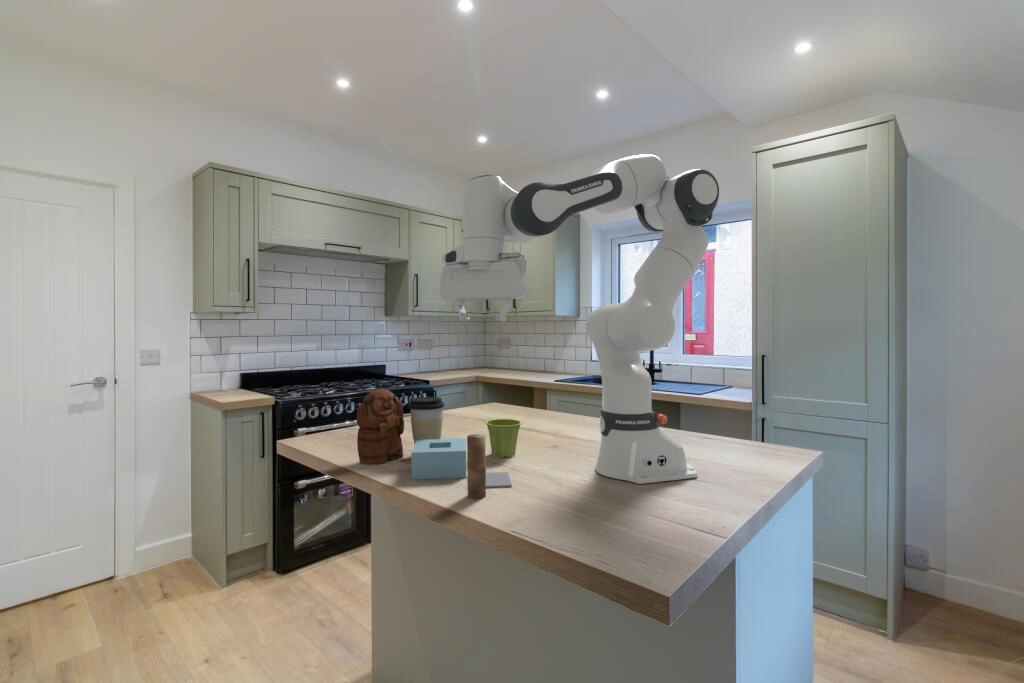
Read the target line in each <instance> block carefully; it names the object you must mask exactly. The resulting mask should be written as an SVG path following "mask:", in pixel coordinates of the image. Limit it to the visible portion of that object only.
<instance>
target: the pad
mask: <svg viewBox="0 0 1024 683" xmlns="http://www.w3.org/2000/svg"><path fill="white" fill-rule="evenodd" d="M512 486H513V485H512V481H511V478H510V474H509V472H508V471H504V472H502V471H501V472H500V471H499V472H486V489H488V488H489V489H491V488H492V489H493V488H511V487H512Z"/></svg>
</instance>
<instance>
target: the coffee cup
mask: <svg viewBox="0 0 1024 683" xmlns="http://www.w3.org/2000/svg"><path fill="white" fill-rule="evenodd" d="M407 405H408V406H407V409H409V410H410V425H411V433H412V440H413V443H414V444H413V446H414V445H415V442H416V440H428V439H442V431H443V429H442V428H443V418H444V416H443V413H444V408H445V402H443V400H442V398H441V397H438V396H421V397H419V396H418V397H413V398H411V399H410V402H409V403H408V404H407Z"/></svg>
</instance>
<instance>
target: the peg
mask: <svg viewBox="0 0 1024 683" xmlns="http://www.w3.org/2000/svg"><path fill="white" fill-rule="evenodd" d="M466 440H467V441H466V444H467V445H466V470H467V498H469V499H470V500H481V499H484V498H486V495H487V490H486V489H487V488H486V473H487V472H486V471H487V470H486V467H487V465H486V460H487V459H486V435H485V434H480V433H479V434H477V433H476V434H469V435H466Z"/></svg>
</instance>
